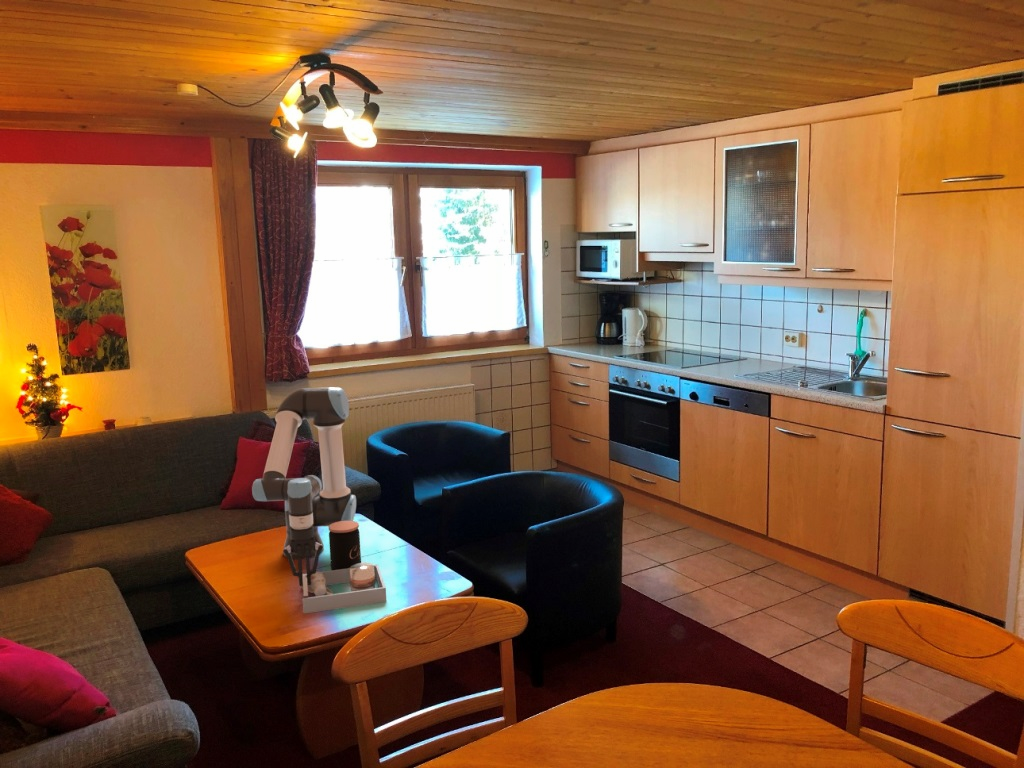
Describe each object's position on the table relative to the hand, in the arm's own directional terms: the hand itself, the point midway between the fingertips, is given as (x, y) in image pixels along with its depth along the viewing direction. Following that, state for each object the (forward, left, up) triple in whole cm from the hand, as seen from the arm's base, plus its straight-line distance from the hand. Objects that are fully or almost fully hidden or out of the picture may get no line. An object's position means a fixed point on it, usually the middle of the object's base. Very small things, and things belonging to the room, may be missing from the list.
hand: (305, 594), depth 271 cm
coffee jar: (-18, +15, -2) cm, 24 cm away
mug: (+1, +5, -2) cm, 6 cm away
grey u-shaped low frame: (+1, +12, -2) cm, 12 cm away
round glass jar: (+1, +19, -2) cm, 19 cm away
